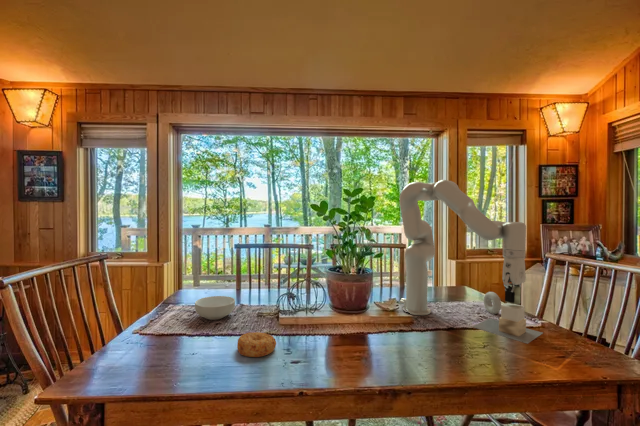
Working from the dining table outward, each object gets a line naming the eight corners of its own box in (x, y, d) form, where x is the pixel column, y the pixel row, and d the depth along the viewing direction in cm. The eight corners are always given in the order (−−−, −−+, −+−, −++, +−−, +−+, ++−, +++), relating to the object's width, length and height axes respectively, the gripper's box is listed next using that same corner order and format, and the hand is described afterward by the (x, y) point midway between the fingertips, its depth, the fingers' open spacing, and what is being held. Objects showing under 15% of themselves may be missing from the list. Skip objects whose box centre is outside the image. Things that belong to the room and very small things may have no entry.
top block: (501, 318, 126) (501, 305, 126) (507, 314, 129) (507, 302, 129) (517, 322, 121) (518, 309, 121) (524, 319, 125) (524, 306, 125)
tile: (471, 328, 130) (471, 326, 130) (489, 319, 140) (489, 318, 140) (527, 345, 114) (527, 343, 114) (543, 334, 124) (543, 332, 124)
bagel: (253, 363, 100) (253, 347, 100) (228, 350, 109) (228, 336, 108) (283, 350, 109) (284, 335, 109) (258, 338, 118) (258, 325, 118)
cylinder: (503, 301, 126) (503, 286, 125) (508, 299, 129) (508, 284, 128) (517, 305, 122) (517, 289, 121) (522, 302, 125) (522, 287, 125)
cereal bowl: (228, 324, 132) (228, 307, 132) (188, 323, 133) (188, 306, 132) (239, 310, 149) (239, 295, 149) (203, 310, 150) (203, 295, 149)
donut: (502, 317, 143) (503, 294, 143) (495, 317, 142) (496, 295, 142) (488, 310, 153) (488, 289, 153) (481, 310, 152) (482, 289, 152)
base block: (498, 330, 126) (499, 317, 126) (506, 326, 130) (506, 314, 130) (518, 336, 120) (518, 323, 120) (525, 331, 125) (526, 319, 125)
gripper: (515, 257, 116) (514, 307, 117) (533, 253, 127) (531, 299, 127) (493, 254, 122) (492, 302, 123) (512, 250, 133) (511, 294, 133)
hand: (512, 300), depth 125 cm, fingers closed on cylinder, 4 cm apart
